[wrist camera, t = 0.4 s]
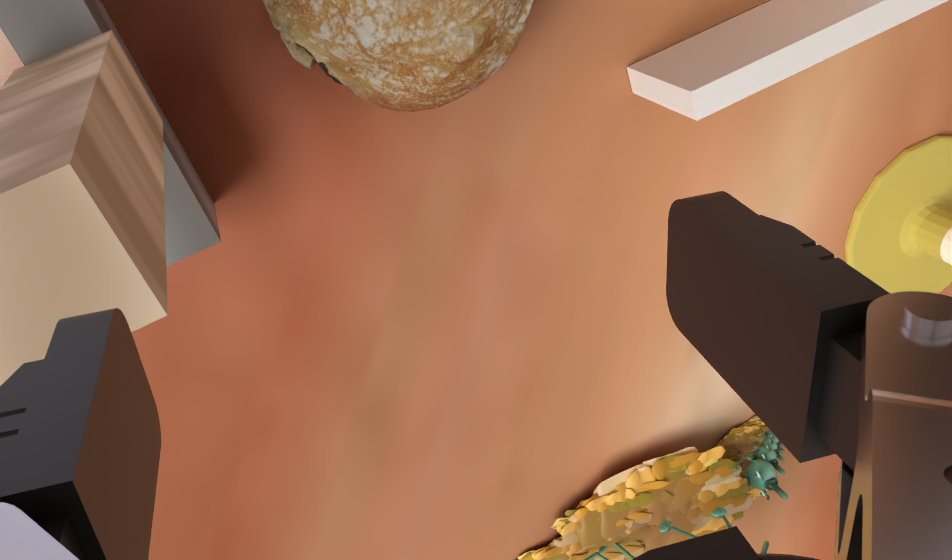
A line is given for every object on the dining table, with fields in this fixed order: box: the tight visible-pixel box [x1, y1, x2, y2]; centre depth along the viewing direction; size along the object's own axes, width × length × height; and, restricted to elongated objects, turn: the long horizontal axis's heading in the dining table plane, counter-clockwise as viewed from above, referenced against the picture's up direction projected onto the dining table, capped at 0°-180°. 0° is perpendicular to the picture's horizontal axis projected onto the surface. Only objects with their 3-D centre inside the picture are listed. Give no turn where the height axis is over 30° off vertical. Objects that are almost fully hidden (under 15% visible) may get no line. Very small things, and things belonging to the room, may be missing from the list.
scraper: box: [0, 0, 221, 386], centre depth 21 cm, size 3×12×18 cm, turn 19°
